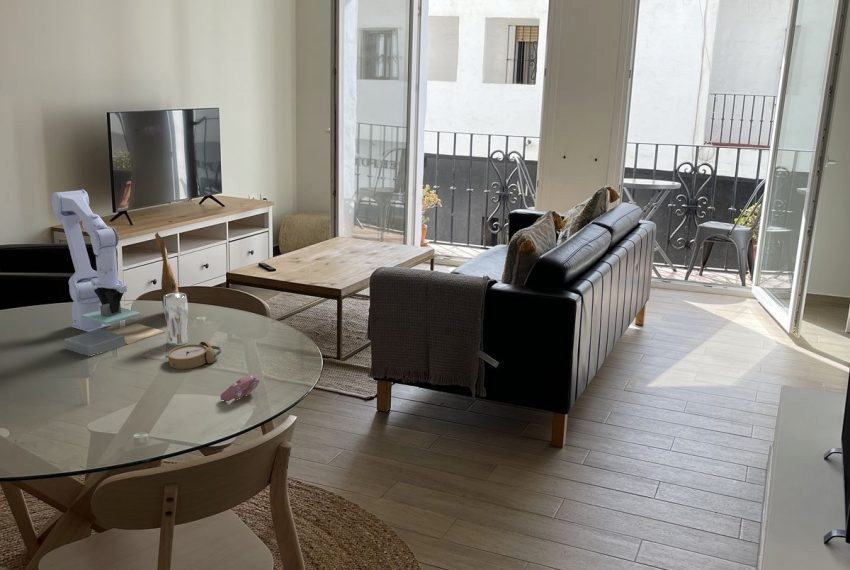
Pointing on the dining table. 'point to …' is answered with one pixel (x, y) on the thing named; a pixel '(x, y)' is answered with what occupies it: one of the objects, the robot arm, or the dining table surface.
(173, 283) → the pancake mix bag
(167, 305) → the beer glass
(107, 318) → the lid
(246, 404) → the dining table surface
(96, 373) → the dining table surface
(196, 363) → the alarm clock
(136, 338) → the cork pad
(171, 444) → the dining table surface
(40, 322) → the dining table surface
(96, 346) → the grey square slab
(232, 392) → the video game controller
